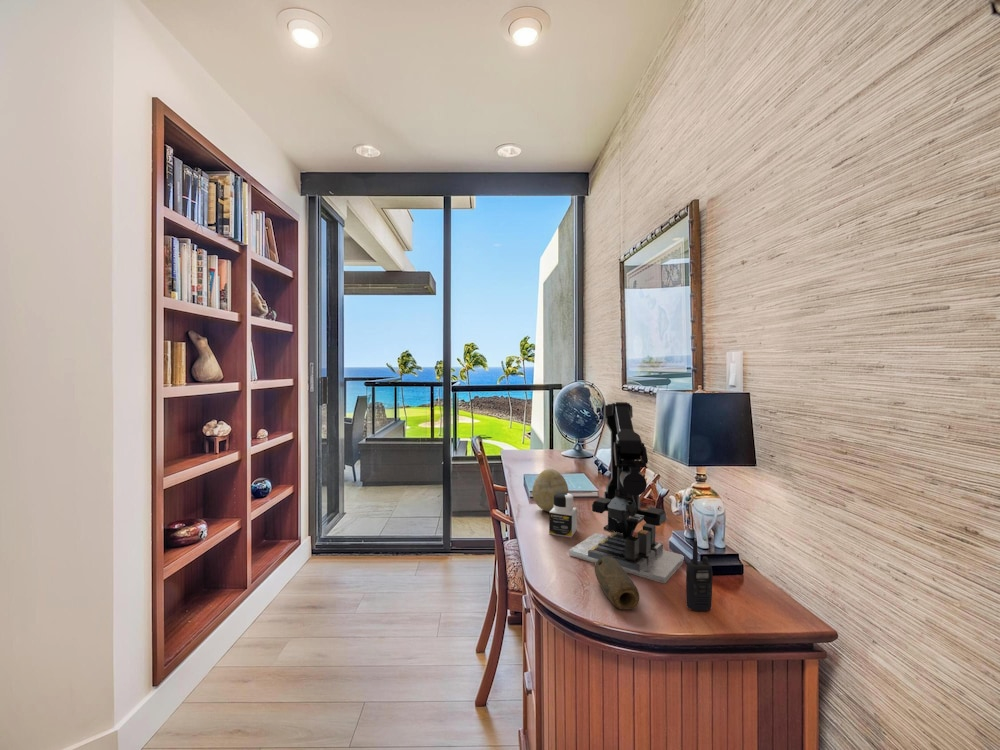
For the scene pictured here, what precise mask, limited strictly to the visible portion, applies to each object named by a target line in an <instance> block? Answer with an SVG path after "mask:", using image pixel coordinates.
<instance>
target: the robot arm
mask: <svg viewBox="0 0 1000 750" xmlns="http://www.w3.org/2000/svg"><path fill="white" fill-rule="evenodd" d="M632 418H633V405H632V404H630V403H629V402H627V401H626V402H625V401H621V402H620V401H614V402H612V403H608V404H606V405H605V406H604V407H603V419H605V425H606V426H607V427H608V430H609V431H610V479H609V480H608V482H607V484H606V486H605V491H604V492H603V496H602V497H599V498H597V499H596V500H594V501H593V502H592V505H591V512H594V513H597V514H603V513H604V512H607V525H604V526H603V530H606V531H610V532H613V533H614V532H617V533H621V534H623V536H624V539H626V538H627V537H628V536H634V533H635V530H636V528H637V526H638V524H640V523H641V522H642V521H644V522H645V524H646V523H647V524H651V525H655V526H656V527H658V526H662V524H663V523H665V522H666V521H667V513H666V511H665V510H664V509H662V508H658V507H657V508H656V507H649V508H648V509H646V510H645V509H640V507H641V506H642V505H641V502H640V495H642V494H644V492H645V491H646V489H647V486H648V485H647V484H648V483H647V481H646V478H645V477H644V475H643V473H642V472H641V471H642V470H641V468H647V464H648V463H649V458H648V454H647V452H648V451H647V447H646V446H645V443H644V442H642V438H641V435H639V434H638V433H637V432H635V431H634V426H633V422H632Z"/></svg>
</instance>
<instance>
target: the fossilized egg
mask: <svg viewBox="0 0 1000 750" xmlns="http://www.w3.org/2000/svg"><path fill="white" fill-rule="evenodd" d="M560 492H565V493H569V487H568V483H567V481H566V479H565V477H564V476H563V475H562V474H561V473H560V472H559V471H558V470H557V469H555V468H546V469H544V470H542V471H541V472H540V473H539V474H538V475H537V477H536V478H535V479H534V482H533V485H532V498H533V500H534V502H535V504H536V505H537V506H538V507H539V509H541V510H542V511H545V512H550V511H551V510H552V508H553V507H554V495H555V494H556V493H560Z"/></svg>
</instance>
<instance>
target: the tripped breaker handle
mask: <svg viewBox="0 0 1000 750" xmlns="http://www.w3.org/2000/svg"><path fill="white" fill-rule="evenodd" d="M636 535H637V536H636V537H638V538H639V552H640V553H644V554H647V553H648V552H649V551H650V550H651V532H650V531H646V530H643V529H640V530H639V531H637V533H636Z"/></svg>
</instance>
